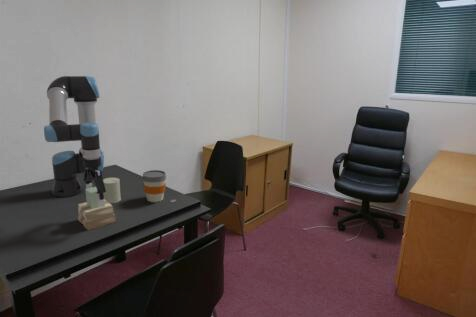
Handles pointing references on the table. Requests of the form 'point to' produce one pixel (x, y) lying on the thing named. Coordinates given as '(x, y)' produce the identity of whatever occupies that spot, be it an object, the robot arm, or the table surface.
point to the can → (112, 190)
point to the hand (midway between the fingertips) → (95, 200)
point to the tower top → (95, 211)
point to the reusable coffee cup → (154, 185)
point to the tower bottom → (97, 221)
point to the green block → (92, 197)
